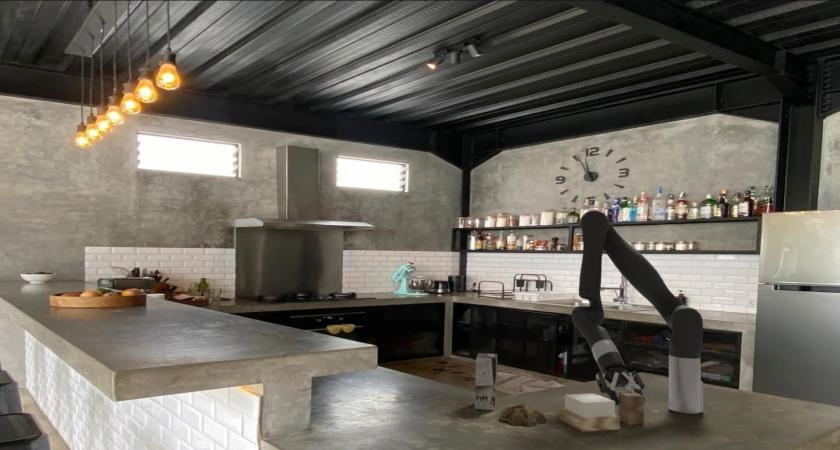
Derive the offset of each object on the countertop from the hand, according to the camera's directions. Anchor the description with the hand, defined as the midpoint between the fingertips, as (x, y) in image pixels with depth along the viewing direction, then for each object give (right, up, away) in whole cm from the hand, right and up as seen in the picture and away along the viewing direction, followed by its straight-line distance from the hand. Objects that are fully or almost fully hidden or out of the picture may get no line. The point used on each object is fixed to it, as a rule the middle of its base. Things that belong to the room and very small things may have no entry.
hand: (630, 403), depth 168 cm
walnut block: (0, -5, -1) cm, 5 cm away
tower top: (-13, -1, -4) cm, 14 cm away
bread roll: (-33, -5, -2) cm, 33 cm away
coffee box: (-41, -5, +12) cm, 43 cm away
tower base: (-14, -5, -4) cm, 15 cm away
